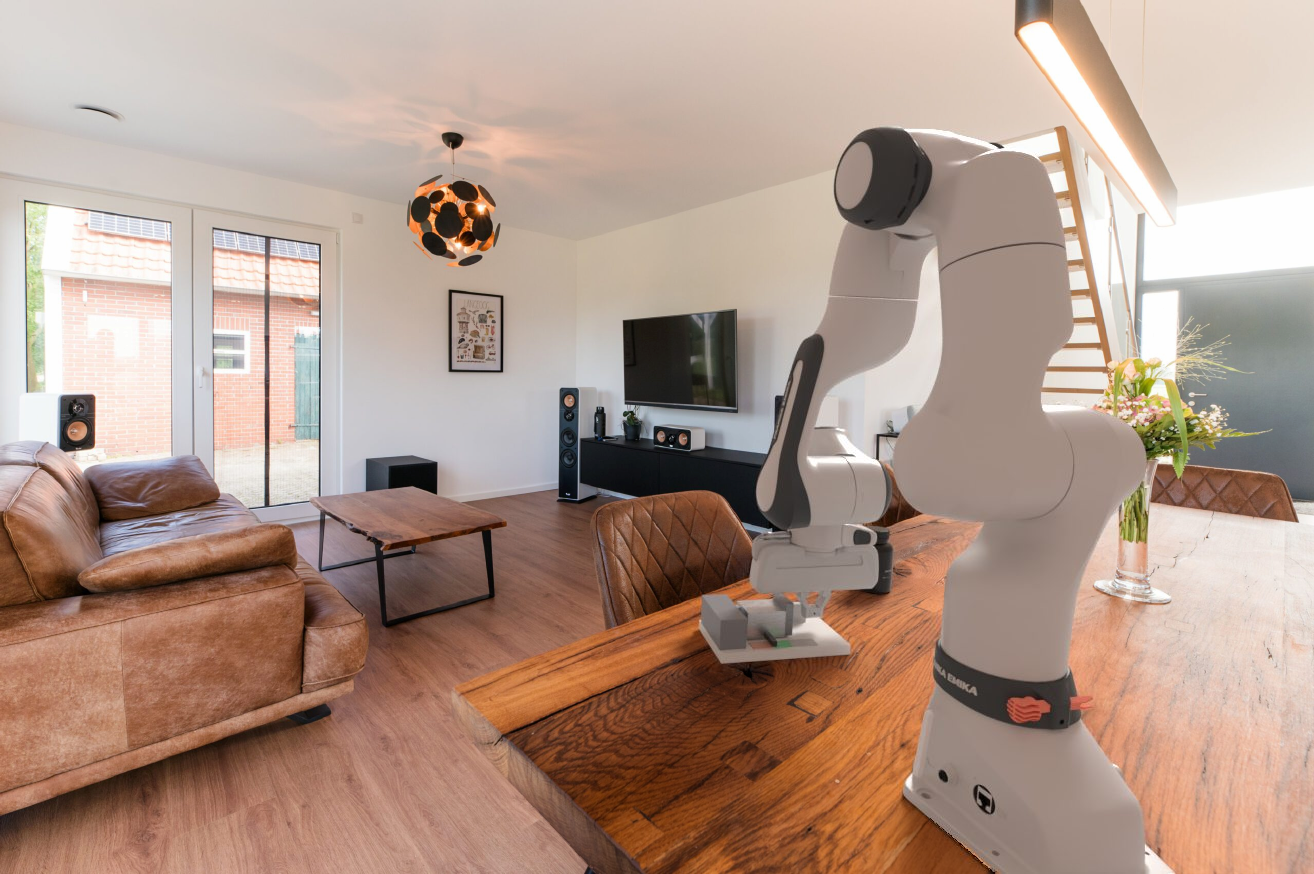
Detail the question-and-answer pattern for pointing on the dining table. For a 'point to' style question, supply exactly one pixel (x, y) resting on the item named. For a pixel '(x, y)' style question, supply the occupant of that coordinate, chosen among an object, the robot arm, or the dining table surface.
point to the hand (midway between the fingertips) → (811, 616)
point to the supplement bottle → (883, 560)
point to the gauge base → (731, 645)
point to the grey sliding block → (768, 617)
